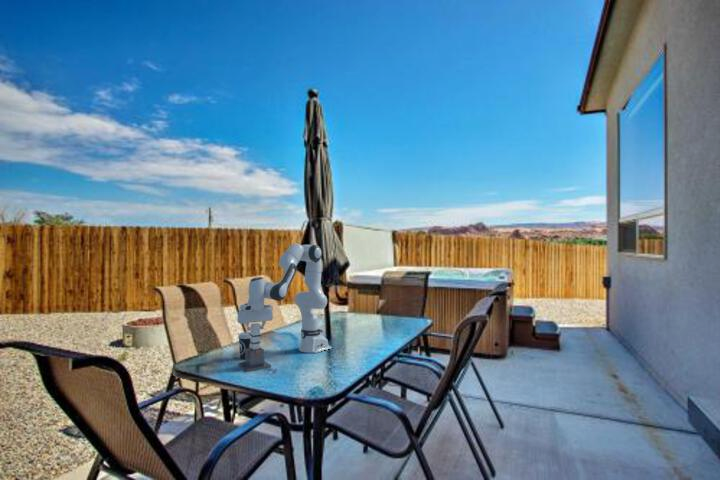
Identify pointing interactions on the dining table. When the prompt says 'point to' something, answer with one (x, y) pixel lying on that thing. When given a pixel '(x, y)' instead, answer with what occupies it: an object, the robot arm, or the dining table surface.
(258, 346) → the column
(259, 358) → the stand
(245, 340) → the coffee cup
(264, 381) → the dining table surface
